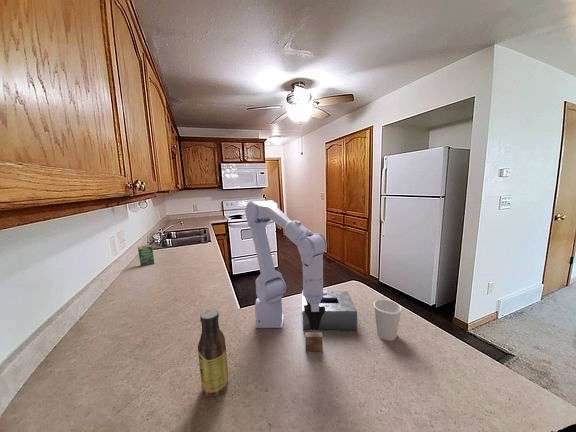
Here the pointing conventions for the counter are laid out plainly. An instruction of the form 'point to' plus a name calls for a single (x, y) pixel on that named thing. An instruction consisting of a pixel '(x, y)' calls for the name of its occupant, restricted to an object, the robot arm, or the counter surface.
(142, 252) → the coffee box
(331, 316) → the money box
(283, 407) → the counter surface
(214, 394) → the sauce bottle
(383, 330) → the dixie cup
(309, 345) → the brown block
